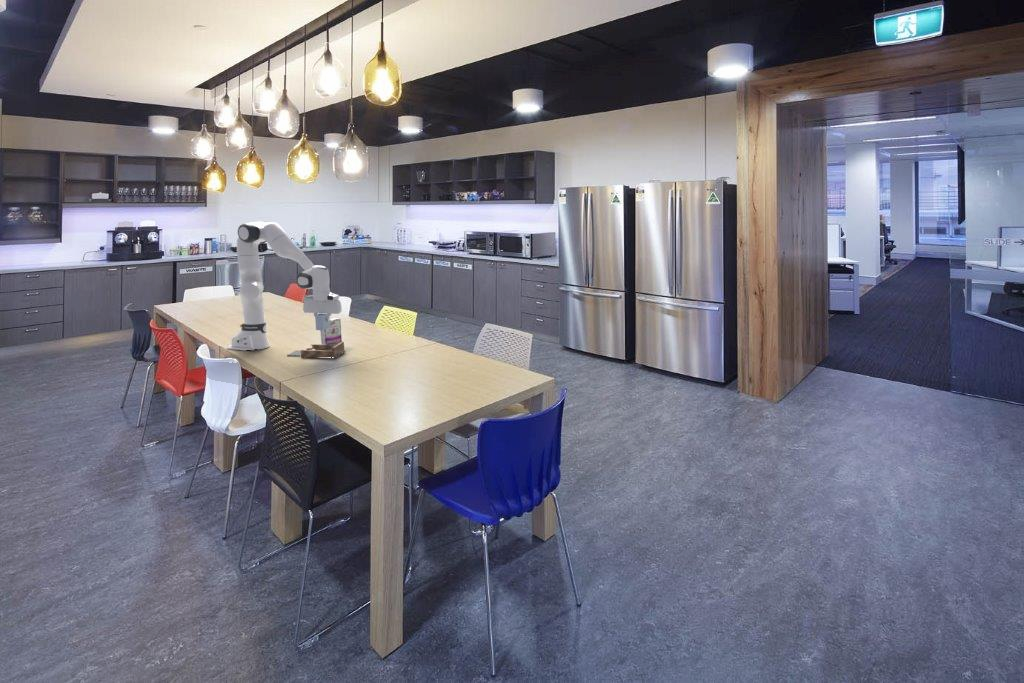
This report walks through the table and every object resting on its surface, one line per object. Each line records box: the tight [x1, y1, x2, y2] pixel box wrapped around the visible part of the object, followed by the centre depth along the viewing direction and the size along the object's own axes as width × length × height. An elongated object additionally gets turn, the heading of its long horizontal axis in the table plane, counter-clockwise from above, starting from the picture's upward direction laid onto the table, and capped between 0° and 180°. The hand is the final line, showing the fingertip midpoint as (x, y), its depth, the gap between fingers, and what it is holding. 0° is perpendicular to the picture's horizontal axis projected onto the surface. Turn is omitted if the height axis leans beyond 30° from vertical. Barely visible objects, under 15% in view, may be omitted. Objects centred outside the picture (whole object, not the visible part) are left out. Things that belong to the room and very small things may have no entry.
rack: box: [300, 341, 345, 359], centre depth 320 cm, size 18×15×6 cm
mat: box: [287, 349, 301, 357], centre depth 322 cm, size 7×11×1 cm, turn 176°
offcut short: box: [305, 345, 312, 350], centre depth 321 cm, size 3×6×2 cm, turn 18°
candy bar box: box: [319, 317, 343, 345], centre depth 338 cm, size 11×5×16 cm, turn 143°
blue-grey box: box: [314, 313, 330, 331], centre depth 317 cm, size 4×10×8 cm, turn 176°
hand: (322, 321), depth 317 cm, fingers closed on blue-grey box, 4 cm apart
